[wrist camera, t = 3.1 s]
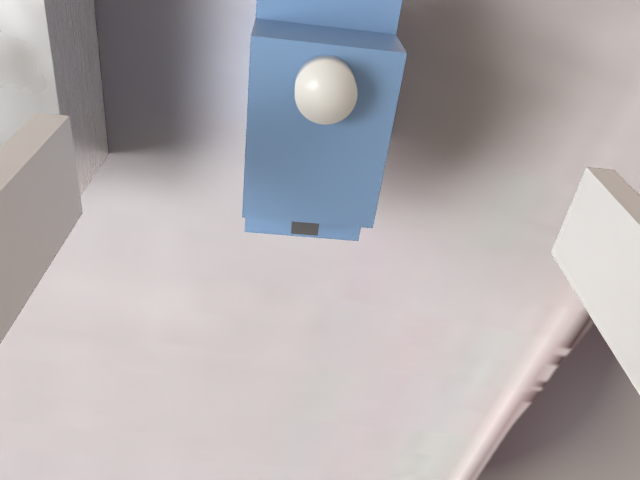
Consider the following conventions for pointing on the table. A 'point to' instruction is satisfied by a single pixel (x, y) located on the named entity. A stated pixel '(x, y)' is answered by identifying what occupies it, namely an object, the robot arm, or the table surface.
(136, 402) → the table surface
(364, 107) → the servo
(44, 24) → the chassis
